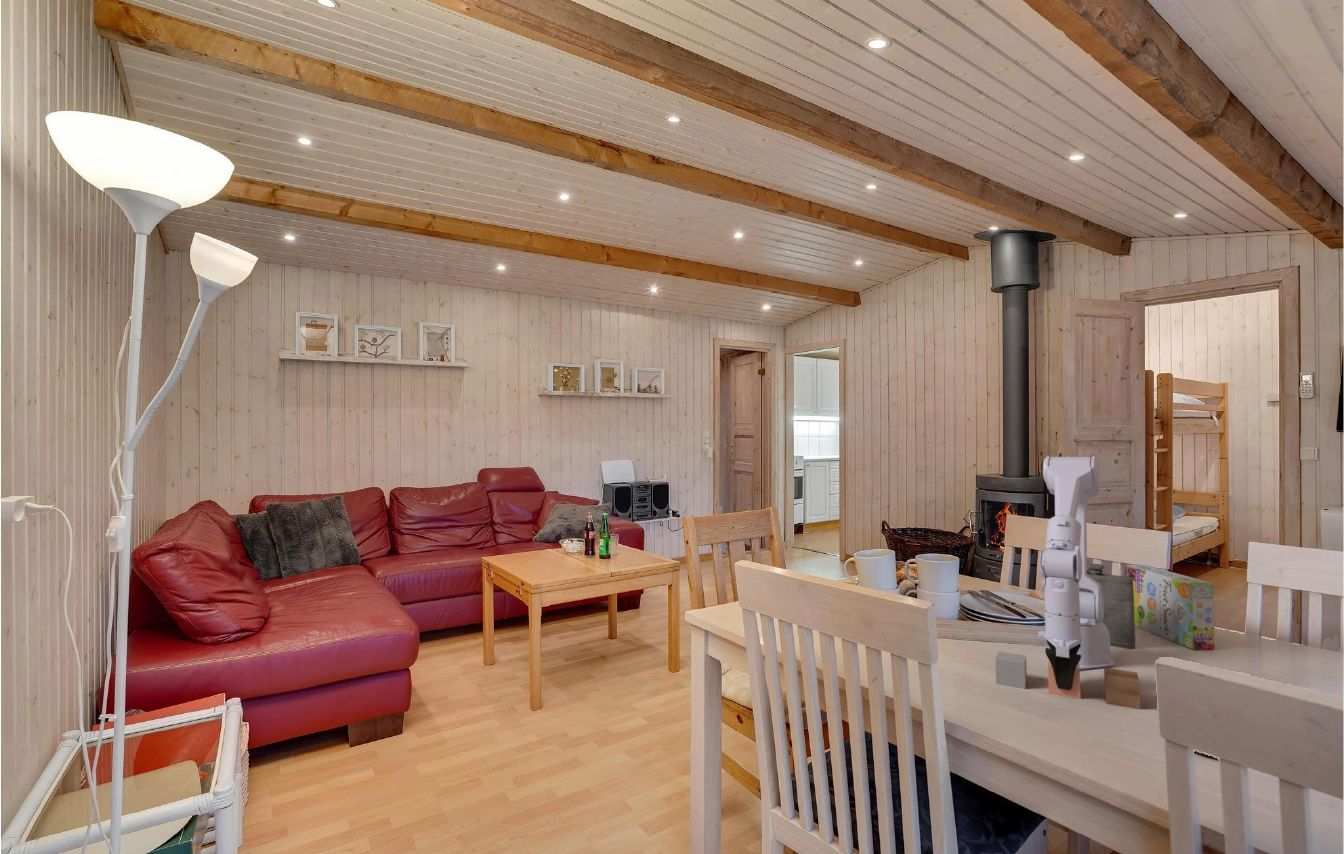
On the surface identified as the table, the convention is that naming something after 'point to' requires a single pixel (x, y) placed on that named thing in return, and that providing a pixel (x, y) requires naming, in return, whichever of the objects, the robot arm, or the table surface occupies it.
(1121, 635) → the dark grey slab
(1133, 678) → the walnut block
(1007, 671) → the slate block
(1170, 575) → the snack box
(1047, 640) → the robot arm
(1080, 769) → the table surface
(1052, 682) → the terracotta block
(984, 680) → the table surface
